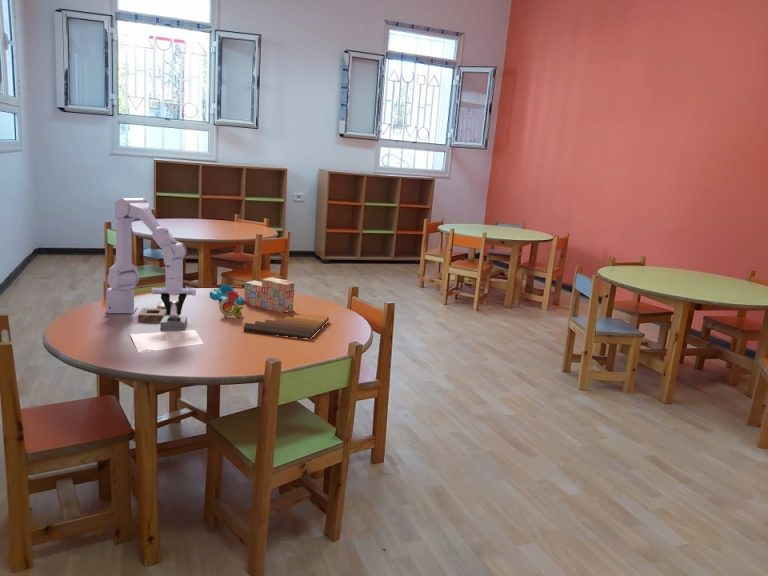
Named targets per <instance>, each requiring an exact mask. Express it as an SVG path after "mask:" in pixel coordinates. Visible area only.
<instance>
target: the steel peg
mask: <svg viewBox="0 0 768 576" xmlns="http://www.w3.org/2000/svg"><path fill="white" fill-rule="evenodd" d="M178 309H179V302H178V300H170V301H169V315H168V316H169V321H179V316H180V315H178Z"/></svg>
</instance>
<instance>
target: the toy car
mask: <svg viewBox="0 0 768 576" xmlns="http://www.w3.org/2000/svg"><path fill="white" fill-rule="evenodd" d="M228 291H230V292H231V291H235V292H237V291H236V290H235V289H234V288H233V286H231V285H229V284H228V283H224V284H222V285H221V286H220V287H219V288H214V289H213V290H212V291H210V292H209V299H210V298H211V299H212V300H214V301H217V303H219V305H220V303H221V301H222V300H223V299H225V298H228V296H227V293H226V292H228ZM244 300H245V298H244V297H243V296H242V295H239V298H238V299H235V301H236V302H237V304H238V306H243V305H244V304H245V303H244ZM226 303H230V302H226ZM230 304H231V305H232V306H233V304H232V303H230Z"/></svg>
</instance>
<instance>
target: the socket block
mask: <svg viewBox="0 0 768 576" xmlns="http://www.w3.org/2000/svg"><path fill="white" fill-rule="evenodd" d="M164 316H169V315H167V311H166V309H157V307H156V308H151V307H148V308H147V307H142V308H141V310H140V311H139V313H137V322H139V321H141V322H142V321H143V322H147V323H148V322H150V323H151V322H152V323H155V322H156V323H160V322H161V320H162V318H163V317H164ZM143 322H142V323H143Z"/></svg>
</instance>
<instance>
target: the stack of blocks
mask: <svg viewBox="0 0 768 576" xmlns="http://www.w3.org/2000/svg"><path fill="white" fill-rule="evenodd" d="M295 284H296V283H295V282H294V281H289V280H286V279H282V278H277V277H272V276H271V277H267V278H266V277H265V278H262V279H261V281H259V280H254V279H253V280H251V281H247V282H244V304H246V305H249V306H250V305H251V306H254V307H259V308H262V309H265V310H270V311H274V310H276V311H275V312H278V311H280V312H279V313H281V312H286V311H289V310H292V309H293V310H294V295H295ZM293 310H292V311H293ZM289 312H290V311H289ZM286 313H287V312H286Z"/></svg>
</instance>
